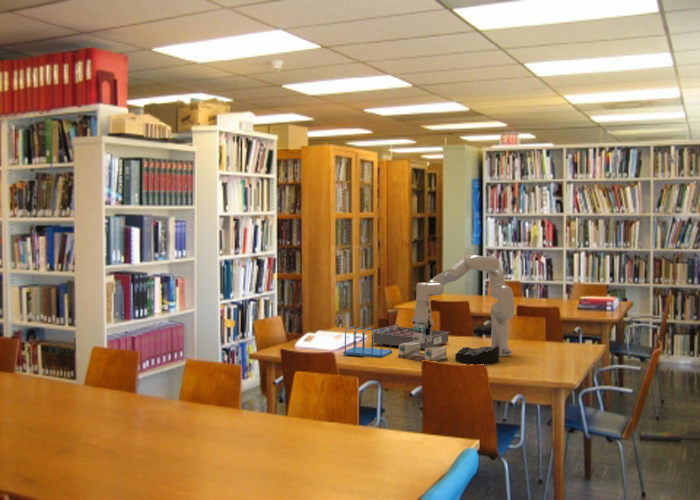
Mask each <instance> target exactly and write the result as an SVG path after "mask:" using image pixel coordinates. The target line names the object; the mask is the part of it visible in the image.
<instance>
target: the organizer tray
mask: <svg viewBox="0 0 700 500" xmlns="http://www.w3.org/2000/svg"><path fill="white" fill-rule="evenodd" d="M377 329H379V328H377ZM377 329H375V330H377ZM387 329H390V330H391V346H395V347H396V346H398V347H399V344H403V343H409V342H413V327H404V326H399V324H398V323H397V324H394V325H389V326H385V327H382V328H381V330H382V332H383V331H385V330H387ZM381 330H380V329H379V330H377V331H375V332H373V344H380V345H381ZM449 333H450V331H444V330H434V329H432V341H431V342H426V343H420V349H422V350H423V349H424V350H425V349H426V348H432V347H437V346H441V345H443V344H446V343H449ZM382 345H389V346H390V331H389V330H388V331H385V332H383V334H382Z"/></svg>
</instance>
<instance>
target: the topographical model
mask: <svg viewBox="0 0 700 500" xmlns="http://www.w3.org/2000/svg"><path fill="white" fill-rule="evenodd" d="M454 358H455V362H457V363H460V364H463V365H464V364H465V365H468V364H484V365H483V366H488V365H487V364H493V365H495V364H494V363H496V364H498V363H499V361H500V356H499V347H498V346H495V347H491V346H481V347H479V348H471V347H469V346H468V347H467V346H466V347H465V346H464V347H462V348H460V349H459V350H458V351H457V353H455V357H454ZM497 362H498V363H497ZM485 364H486V365H485Z"/></svg>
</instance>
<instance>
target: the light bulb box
mask: <svg viewBox="0 0 700 500" xmlns="http://www.w3.org/2000/svg"><path fill="white" fill-rule="evenodd" d="M412 325H413V327H412V328H413V342H415V343H426V342H431V341H432V330H433V326H432V327H431V328H430V335H426V325H425V324H421V323H416V324H412ZM427 325H428V324H427Z"/></svg>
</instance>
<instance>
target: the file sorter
mask: <svg viewBox="0 0 700 500" xmlns="http://www.w3.org/2000/svg"><path fill="white" fill-rule="evenodd" d="M353 328H354V331H353V347H351V348H349V349H347V331H348V330H351V329H353ZM360 329H363V332H362V347H361V346H357V331H358V330H360ZM379 329H380V330H381V328H377V330H379ZM368 330H371V347H365V337H366V336H365V332H366V331H368ZM377 330H376V329H374V328H373V327H369V328H366V329H365V327H364V326H362V327H358V328H356V326H355V325H354V326H351V327H348V328H346V329H345V331H344V332H345V333H344V351H343V352H342V354H343V355H345V356H358V357H359V356H360V357H370V358H381V359H382V358H384V357H386V356H389V355H390V354H392V353H393V350H392V348H391V347H392V345H391V330H390V329H387V330H385V331H388V330H389V331H390V345H389V349H383V344H382V334H383V332H385V331H383V332H382V330H381V344H380V348H375V347H374V343H373V332H375V331H377Z"/></svg>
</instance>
